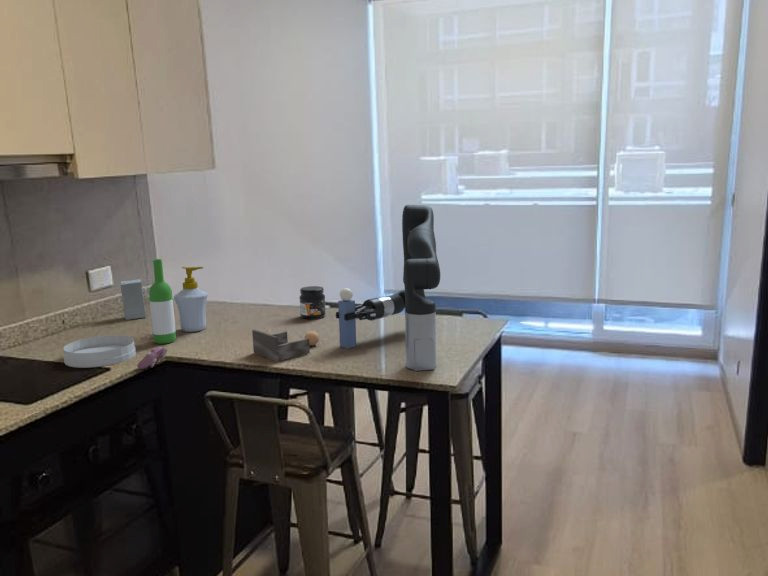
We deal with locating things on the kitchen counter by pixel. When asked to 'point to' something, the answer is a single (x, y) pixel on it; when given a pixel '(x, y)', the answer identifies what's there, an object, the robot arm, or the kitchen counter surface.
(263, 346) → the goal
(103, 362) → the dish
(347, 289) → the figure
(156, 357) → the video game controller
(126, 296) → the skincare box
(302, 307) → the supplement container
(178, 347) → the kitchen counter surface
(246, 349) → the kitchen counter surface
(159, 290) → the wine bottle
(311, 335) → the ball
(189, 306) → the soap bottle
